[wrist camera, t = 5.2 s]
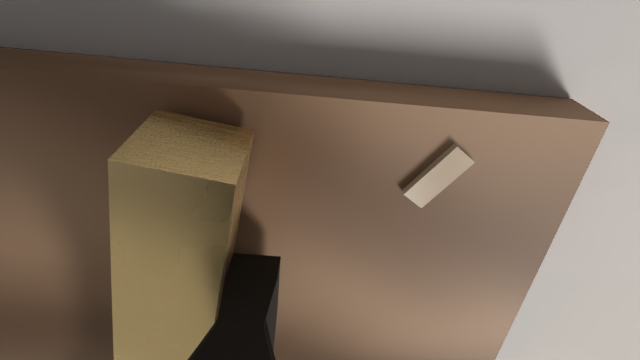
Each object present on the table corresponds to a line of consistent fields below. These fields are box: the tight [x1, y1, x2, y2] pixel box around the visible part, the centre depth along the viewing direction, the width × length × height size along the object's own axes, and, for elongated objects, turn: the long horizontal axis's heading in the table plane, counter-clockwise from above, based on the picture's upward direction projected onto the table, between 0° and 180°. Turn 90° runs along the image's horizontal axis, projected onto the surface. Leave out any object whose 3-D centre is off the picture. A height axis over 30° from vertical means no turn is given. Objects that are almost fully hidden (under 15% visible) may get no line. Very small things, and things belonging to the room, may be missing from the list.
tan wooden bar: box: [108, 110, 254, 360], centre depth 10 cm, size 12×3×2 cm, turn 167°
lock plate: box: [0, 47, 609, 360], centre depth 13 cm, size 17×20×2 cm
